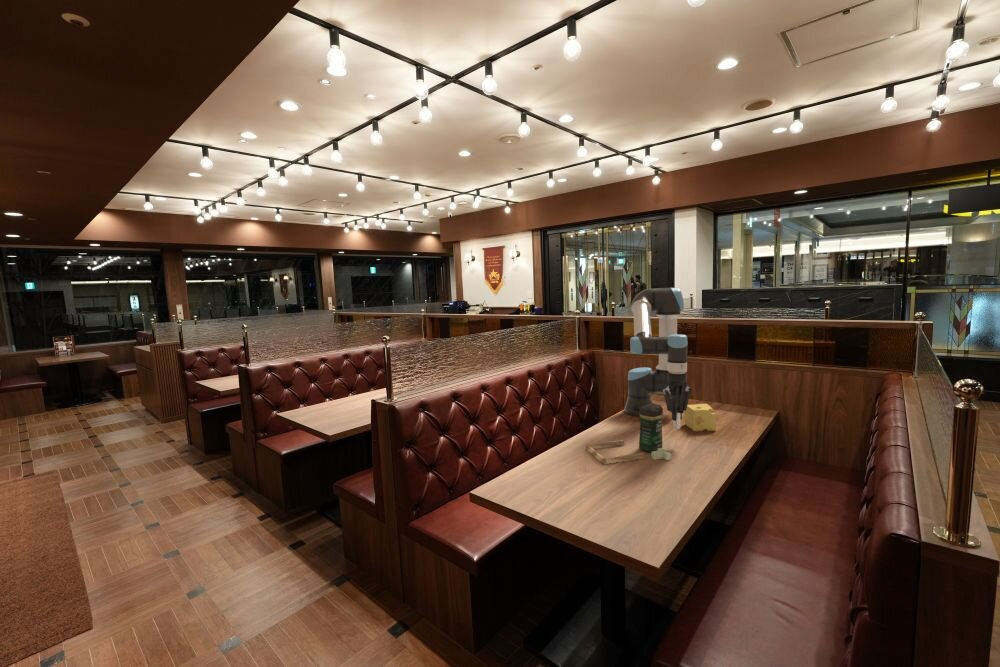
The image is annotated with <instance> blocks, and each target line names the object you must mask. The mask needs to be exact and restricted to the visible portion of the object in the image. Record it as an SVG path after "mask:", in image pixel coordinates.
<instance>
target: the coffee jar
mask: <svg viewBox="0 0 1000 667" xmlns="http://www.w3.org/2000/svg"><path fill="white" fill-rule="evenodd" d="M663 410H664V408H663V406H661V405H660V404H658V403H654V402H653V403H652V404H649V405H646V406H644V407H641V408H640V416H639V419H640V420H639V421H640V423H639V424H640V425H639V440H638V441H639V442H638V447H639V449H641V450H642V451H644V452H646V453H647V452H650V453H651V452H654V451H657V449H659V448H663V445H664V444H663V416H664V412H663Z"/></svg>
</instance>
